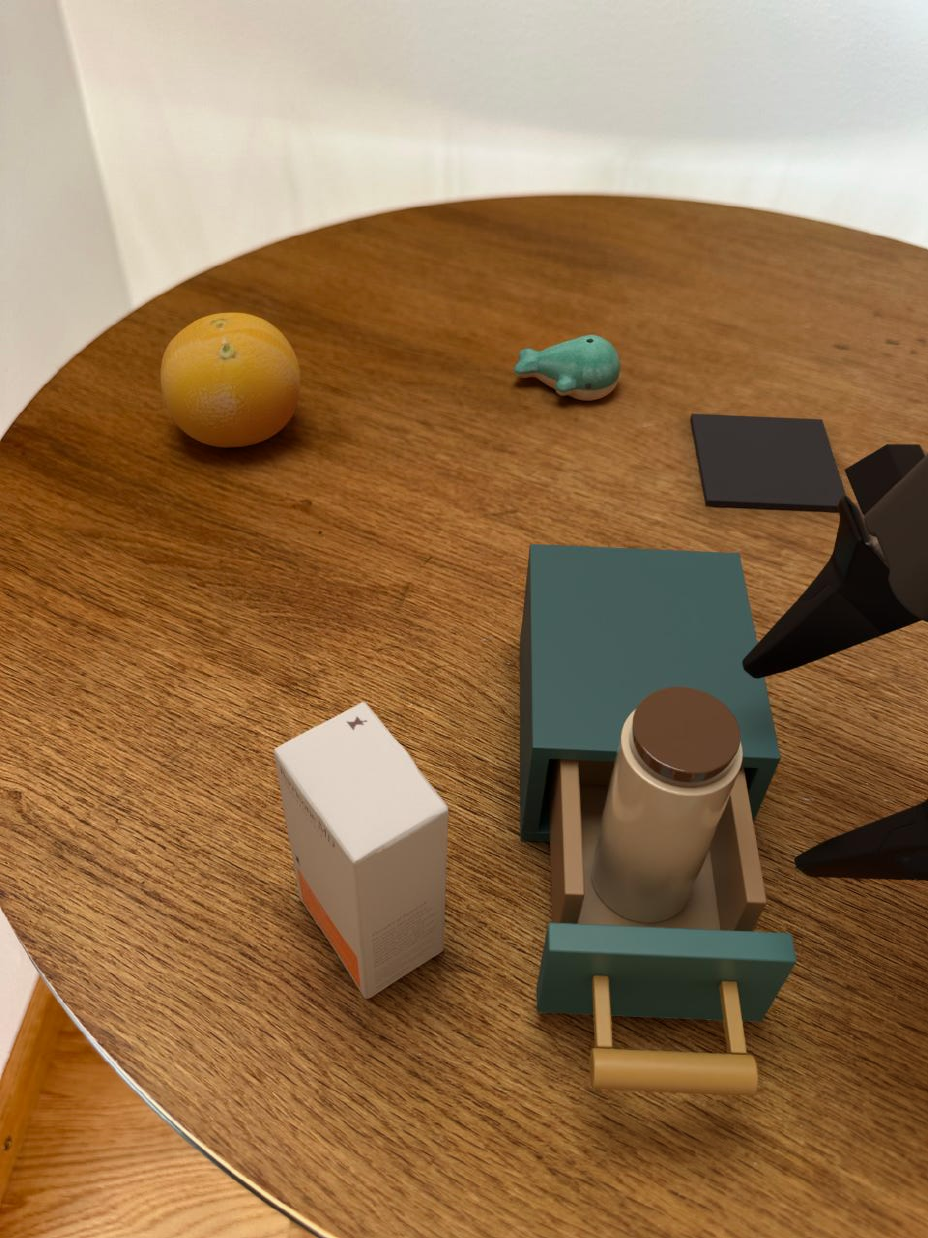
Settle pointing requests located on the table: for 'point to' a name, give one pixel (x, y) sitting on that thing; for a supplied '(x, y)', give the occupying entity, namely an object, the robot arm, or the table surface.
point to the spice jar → (664, 802)
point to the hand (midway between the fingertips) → (771, 762)
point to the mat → (766, 462)
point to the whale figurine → (574, 367)
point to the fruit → (230, 380)
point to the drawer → (659, 947)
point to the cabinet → (630, 657)
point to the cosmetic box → (366, 845)
